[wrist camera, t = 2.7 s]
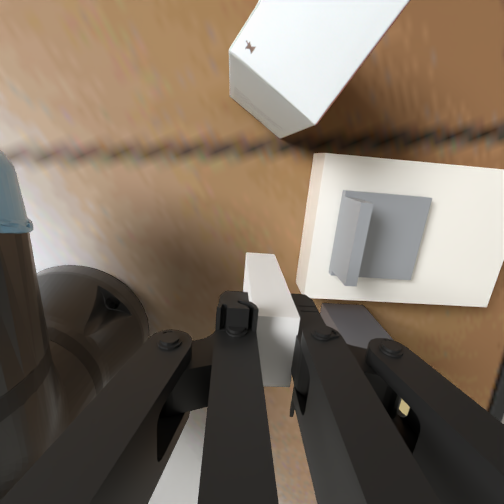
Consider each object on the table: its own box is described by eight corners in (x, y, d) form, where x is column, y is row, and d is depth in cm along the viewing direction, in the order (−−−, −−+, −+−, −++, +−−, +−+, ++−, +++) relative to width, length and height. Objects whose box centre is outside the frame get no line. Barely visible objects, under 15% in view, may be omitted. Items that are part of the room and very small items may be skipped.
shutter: (328, 272, 29) (343, 291, 25) (342, 189, 27) (362, 196, 23) (406, 277, 30) (433, 296, 26) (426, 196, 28) (460, 204, 24)
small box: (280, 140, 30) (314, 129, 17) (228, 96, 28) (224, 50, 16) (335, 66, 28) (416, -6, 15) (282, 15, 26) (325, -109, 14)
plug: (315, 339, 37) (355, 428, 25) (322, 302, 35) (367, 378, 23) (355, 341, 37) (413, 429, 25) (363, 305, 36) (428, 380, 24)
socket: (295, 281, 34) (303, 297, 30) (313, 153, 30) (325, 152, 26) (459, 291, 36) (486, 307, 32) (498, 170, 32) (535, 172, 28)
